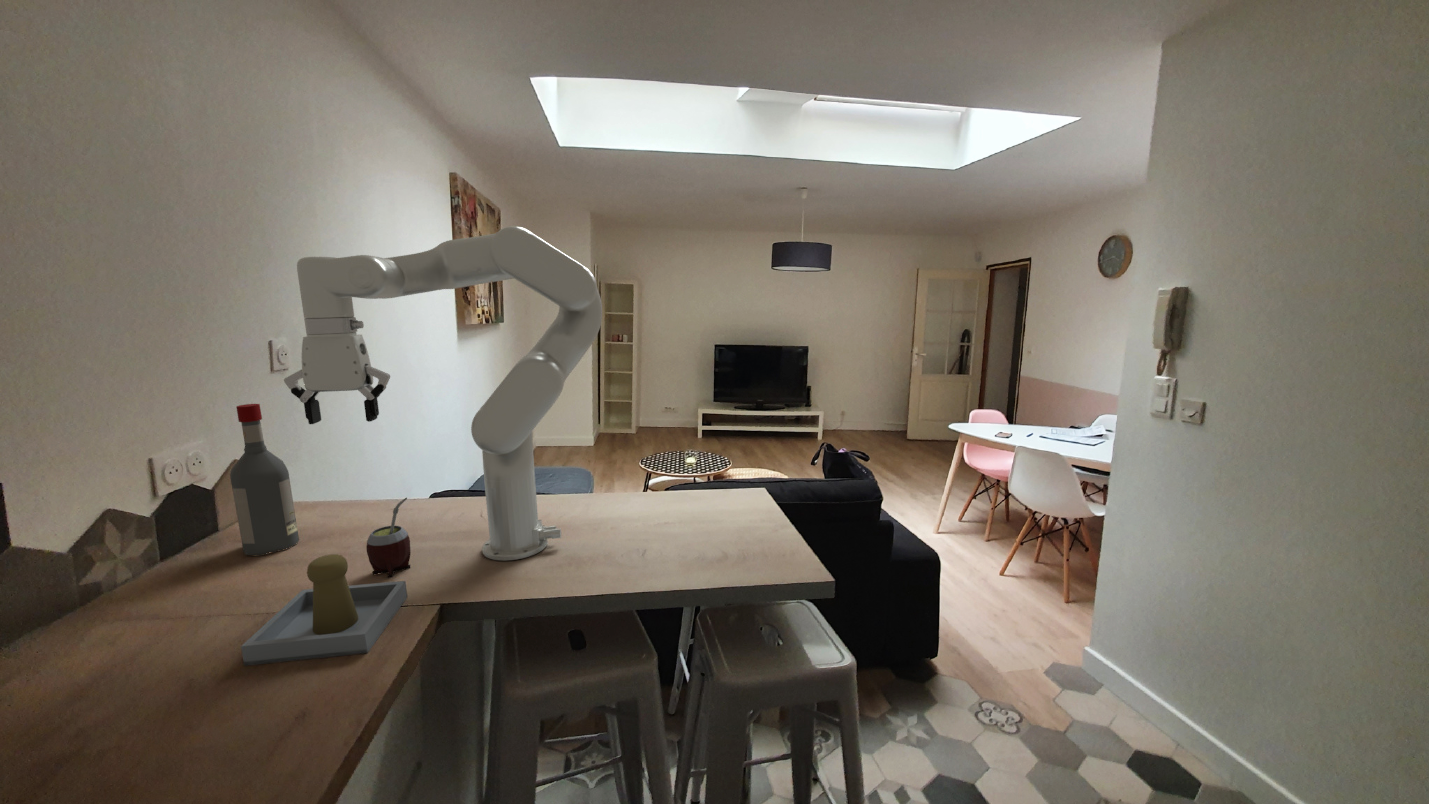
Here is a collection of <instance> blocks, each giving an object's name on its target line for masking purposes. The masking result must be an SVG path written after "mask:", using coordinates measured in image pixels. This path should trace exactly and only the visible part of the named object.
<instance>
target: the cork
mask: <svg viewBox="0 0 1429 804" xmlns="http://www.w3.org/2000/svg"><path fill="white" fill-rule="evenodd" d="M348 567H349V565H348V561H347V558H345V557H344V556H343V555H342V554H338V553H337V554H336V553H335V554H334V553H332V554H326V555H322V556H320V557H319V556H318V557H317V558H314V560H311V562H310V563H308V566H307V569H306V570H307V571H306V574H307V578H308V580H309V581H310V582H311V583H312V589H313V632H314V634H317V635H324V634H334V633H338V632H341V631H344V630H346V629H348V628H350V627H351V626H353V625H354V624H355V623H356V622H357V621H358V614H357V611H356V608H355V605H354V602H353V599H352V596H351V592H350V589H349V586H350V585H349V583H348V580H347V577H346V574H347V572H348Z"/></svg>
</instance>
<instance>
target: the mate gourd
mask: <svg viewBox="0 0 1429 804" xmlns="http://www.w3.org/2000/svg"><path fill="white" fill-rule="evenodd" d="M407 499H408V497H405V498H404V499H402V500H400V501H399V502H398V503H397V504H396V505H395V507H394V508H393V511H392V519H391V525H387V526H383V527H379V528H377V529H374V530H373V531H372V532H370V534H369V536H368V537H367V541H366V554H367V557H368V561H369V563H370V565H371V567H372V572H371V573H372V575H373V576H374V574H376V575H379V574H378V573H381V574H386V573H387V579H391V578H393V577H394V574H395V572H397V571H403V570H402V569H404V570H407V569H406V568H409V569H411V564H410V558H411V554H412V553H411V540H410V539H411V538H410V535H409V534H408V532H407V531H406V529H404V527H402V526H400V525H396V519H397V514H398V513H399V510H400V509H399V508H400V507H401V505H402V504H403V503H404V502H405V501H406V500H407ZM393 573H394V574H393Z"/></svg>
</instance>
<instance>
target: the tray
mask: <svg viewBox="0 0 1429 804" xmlns="http://www.w3.org/2000/svg"><path fill="white" fill-rule="evenodd" d="M406 583H407V582H406V580H401V581H400V580H399V581H388V582H387V581H386V582H376V583H366V584H365V583H364V584H354V585H353V584H352V585H348V586H349V589H350V592H351V596H352V599H353V602H354V605H355V608H356V611H357V614H358V621H357V622H356V623H355V624H354V625H353V626H351V627H350V628H348V629H346V630H344V631H341V632H338V633H334V634H324V635H317V634H314V632H313V588H307V589H301V591H300V592H299V593H297V594H296V595H295V596H294V597H293V598H292V599H291V600H290V601H289V602H287V603H286V604H285V605H284V606H283V607H282V608H281V609H280V610H279V611H277V613H276V614H274V615H273V616H272V617H271V618H270V619H269V620H268V621H267V622H266V623H265V624H264V625H263V626H261V627H260V628H259V629H258V630H257V631H256V632H255V633H254V634H252V636H250V637H249V638H248V639H247V640H246V641H245V642H244V643H243V644H242V645H240V649H241V654H242V661H243V664H244V665H243V666H244V667H246V666H254V665H257V666H258V665H264V664H275V663H285V662H292V661H293V662H294V661H305V660H313V659H322V658H331V657H344V656H350V655H362V654H368V653H369V652H370V650H371V649H372V648H373V646H374V645H375V643H376V642H377V641H378V639H379V638H380V636H381V635H382V634H383V633H384V630H385V629H386V628H387V627H388V625H389V624H390V622H391V621H392V619H393V618H394V617H395V615H396V614H397V612H398V611H399V609H400V608H401V607H402V606H403V604H404V602H405V601H406V599H407V598H408V592H407V584H406Z"/></svg>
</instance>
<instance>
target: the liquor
mask: <svg viewBox="0 0 1429 804" xmlns="http://www.w3.org/2000/svg"><path fill="white" fill-rule="evenodd" d="M236 412H237V420H238V423H241V429H242V435H243V440H244V441H243V442H244V443H243V444H244V448H243V451H244V453H243V454H242V455H241V456H240V458H239V459H238V460H237V462H235V464H234V465H233V467H232V468H231V469H230V474H229V478H230V485H231V489H232V495H233V500H234V506H235V511H236V517H237V523H238V529H239V534H240V540H241V547H242V551H243V553H244V555H245V556H247V555H261V556H264V555H263V554H265V555H267V554H266V553H269V552H273V553H276V552H275V551H278V550H282V551H284V550H283V549H286V548H289V547H291V546H292V547H294V546H296V545H297V544H298V543H299V541H300V537H299V532H298V524H297V518H296V511H295V506H294V505H295V504H294V498H293V493H292V487H291V486H292V485H291V480H290V473H289V470H288V467H287V466H286V464H285V462H284V460H282V459H281V458H279V457H278V456H276V454H274V453H272V452H271V451H270V450H268V449H267V446H266V444H265V440H264V435H263V428H262V425H261V424H262V423H261V421H262V420H263V416H262V410H261V405H260V403H246V404H240V405H237V406H236ZM296 543H297V544H296ZM295 544H296V545H295ZM293 545H294V546H293ZM292 547H291V548H292ZM289 549H290V548H289ZM286 550H287V549H286ZM278 552H279V551H278ZM269 554H270V553H269Z"/></svg>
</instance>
